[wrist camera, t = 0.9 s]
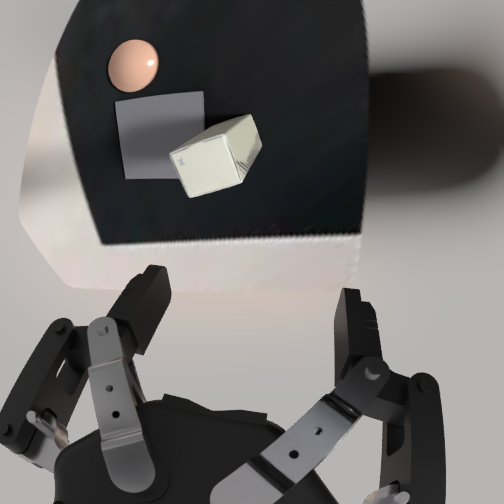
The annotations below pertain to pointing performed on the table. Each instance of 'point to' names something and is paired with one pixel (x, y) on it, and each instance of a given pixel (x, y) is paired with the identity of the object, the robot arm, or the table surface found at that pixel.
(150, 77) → the glossy peach dome
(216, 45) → the table surface
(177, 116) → the mat
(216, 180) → the box
